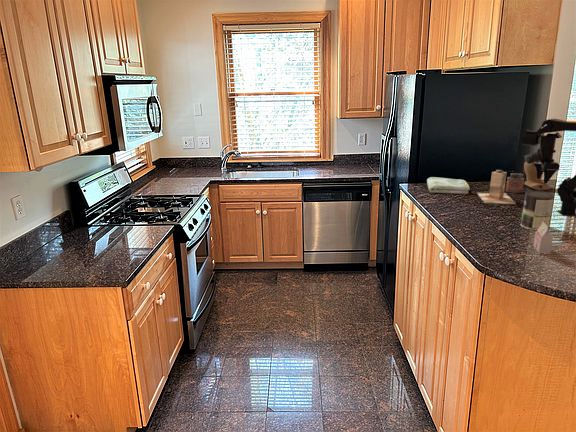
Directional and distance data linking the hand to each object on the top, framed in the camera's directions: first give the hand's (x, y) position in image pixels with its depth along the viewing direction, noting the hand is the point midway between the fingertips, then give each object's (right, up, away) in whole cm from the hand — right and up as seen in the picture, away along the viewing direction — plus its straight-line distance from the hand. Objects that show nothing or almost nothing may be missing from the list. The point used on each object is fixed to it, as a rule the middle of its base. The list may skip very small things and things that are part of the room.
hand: (541, 181), depth 201 cm
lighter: (+4, -3, +32) cm, 33 cm away
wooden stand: (+19, -1, +39) cm, 44 cm away
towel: (-29, -2, +40) cm, 50 cm away
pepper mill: (-12, -7, +20) cm, 24 cm away
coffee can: (-15, -21, -20) cm, 32 cm away
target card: (-12, -7, +20) cm, 24 cm away
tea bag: (-26, -29, -44) cm, 59 cm away
